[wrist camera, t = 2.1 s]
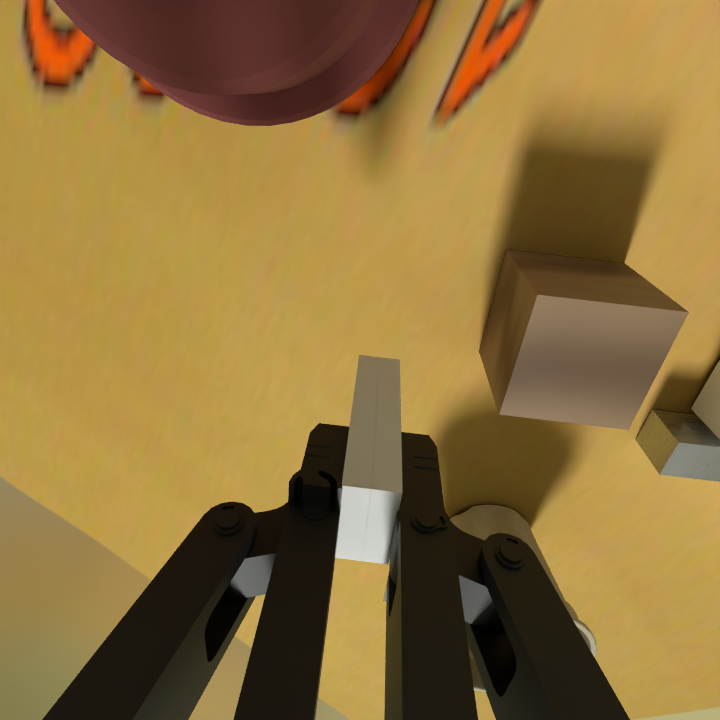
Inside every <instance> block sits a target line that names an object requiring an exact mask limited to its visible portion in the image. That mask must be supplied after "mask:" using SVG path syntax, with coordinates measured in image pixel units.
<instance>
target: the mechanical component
mask: <svg viewBox="0 0 720 720" xmlns="http://www.w3.org/2000/svg"><path fill="white" fill-rule="evenodd" d="M54 1H55V2H56V4H57V5H58V6H59V7H60V9H61V10H62V11H63V12H64V13H65V14H66V15H67V16H68V17H69V18H70V19H71V20H72V21H73V22H74V23H75V24H76V25H77V26H78V27H79V29H80V30H81V31H82V32H83V33H84V34H85V35H86V36H88V37H89V38H90V39H91V40H92V41H94V42H95V43H96V44H97V45H99V46H100V47H101V48H102V49H103V50H105V51H106V52H107V53H108V54H109V55H111V56H112V57H113V58H115V59H117V60H118V61H120V62H121V63H123V64H125V65H126V66H128V67H130V68H131V69H133V70H134V71H136V72H137V73H139V74H140V75H141V76H142V77H143V78H144V79H146V80H147V81H148V82H149V83H150V84H151V85H152V86H154V87H155V88H156V89H158V90H159V91H161V92H162V93H164V94H165V95H167V96H168V97H170V98H171V99H173V100H174V101H176V102H177V103H179V104H181V105H183V106H185V107H187V108H189V109H191V110H193V111H195V112H197V113H199V114H202V115H205V116H208V117H211V118H214V119H217V120H220V121H223V122H229V123H235V124H241V125H247V126H272V125H278V124H284V123H291V122H295V121H299V120H302V119H305V118H309V117H311V116H314V115H316V114H319V113H321V112H323V111H326V110H328V109H330V108H332V107H334V106H335V105H337V104H339V103H340V102H342V101H343V100H345V99H347V98H348V97H350V96H351V95H352V94H353V93H355V92H356V91H357V90H358V89H359V88H360V87H362V86H363V85H364V84H365V83H366V82H368V81H369V79H370V78H371V77H372V76H373V75H374V74H375V73H376V72H377V70H378V69H379V68H380V67H381V66H382V65H383V64H384V62H385V61H386V60H387V58H388V57H389V55H390V54H391V52H392V51H393V49H394V48H395V46H396V45H397V43H398V42H399V40H400V39H401V37H402V35H403V33H404V31H405V29H406V27H407V25H408V23H409V21H410V19H411V17H412V15H413V13H414V10H415V8H416V5H417V2H418V0H54Z"/></svg>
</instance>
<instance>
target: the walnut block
mask: <svg viewBox="0 0 720 720" xmlns="http://www.w3.org/2000/svg"><path fill="white" fill-rule="evenodd" d="M688 313H689V312H688V311H687V310H685V309H684V308H683V307H681V306H680V305H679V304H677V303H676V302H675V301H673V300H672V299H671V298H670V297H668V296H667V295H666V294H664V293H663V292H662V291H660V290H659V289H658V288H656V287H655V286H654V285H652V284H651V283H650V282H648V281H647V280H646V279H645V278H643V277H642V276H641V275H639V274H638V273H637V272H635V271H634V270H633V269H631V268H630V267H629V266H627V265H626V264H625V263H619V262H610V261H602V260H593V259H584V258H576V257H567V256H558V255H549V254H541V253H532V252H523V251H515V250H506V253H505V257H504V260H503V264H502V268H501V272H500V275H499V279H498V283H497V287H496V290H495V294H494V298H493V302H492V305H491V309H490V313H489V317H488V320H487V324H486V328H485V332H484V335H483V339H482V343H481V347H480V350H479V353H480V356H481V359H482V362H483V365H484V368H485V371H486V375H487V378H488V381H489V384H490V387H491V390H492V393H493V396H494V400H495V403H496V406H497V409H498V412H499V415H507V416H516V417H524V418H533V419H541V420H550V421H558V422H567V423H575V424H584V425H592V426H600V427H609V428H617V429H626V430H629V428H630V426H631V424H632V422H633V420H634V418H635V416H636V414H637V412H638V410H639V408H640V406H641V404H642V402H643V400H644V399H645V397H646V395H647V393H648V391H649V389H650V387H651V385H652V383H653V381H654V379H655V377H656V375H657V373H658V371H659V369H660V367H661V365H662V363H663V362H664V360H665V358H666V356H667V354H668V352H669V350H670V348H671V346H672V344H673V342H674V340H675V338H676V336H677V334H678V332H679V330H680V328H681V327H682V325H683V323H684V321H685V319H686V317H687V315H688Z"/></svg>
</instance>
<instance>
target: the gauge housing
mask: <svg viewBox="0 0 720 720" xmlns="http://www.w3.org/2000/svg"><path fill="white" fill-rule="evenodd" d="M636 441H637V443H638V444H639V445H640V447H641V448H642V450H643V451H644V453H645V454H646V456H647V457H648V458H649V460H650V461H651V463H652V464H653V466H654V467H655V469H656V470H657V472H658V473H659V474H660V475H668V476H677V477H685V478H693V479H702V480H710V481H719V482H720V439H719V438H718V437H717V436H716V435H715V434H714V433H713V432H712V431H711V430H710V429H709V427H708V426H707V425H706V424H705V423H704V422H703V421H702V420H701V419H700V418H699V417H698V416H697V415H696V414H687V413H679V412H670V411H662V410H653V409H652V410H651V412H650V414H649V416H648V418H647V420H646V421H645V423H644V425H643V427H642V429H641V431H640V433H639V435H638V436H637V438H636Z"/></svg>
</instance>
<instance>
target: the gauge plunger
mask: <svg viewBox="0 0 720 720" xmlns="http://www.w3.org/2000/svg"><path fill="white" fill-rule="evenodd" d="M691 409H692V410H693V411H694V412H695V414H696V415H697V416H698V417H699V418H700V419H701V420H702V421H703V422H704V423H705V424H706V425H707V426H708V427H709V429H710V430H711V431H712V432H713V433H714V434H715V435H716V436H717V437H718V438H719V439H720V360H719V362H718V363H717V365H716V367H715V368H714V370H713V372H712V374H711V375H710V377H709V379H708V380H707V382H706V384H705V385H704V387H703V389H702V391H701V392H700V394H699V396H698V397H697V399H696V401H695V403H694V404H693V406H692V408H691Z"/></svg>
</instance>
